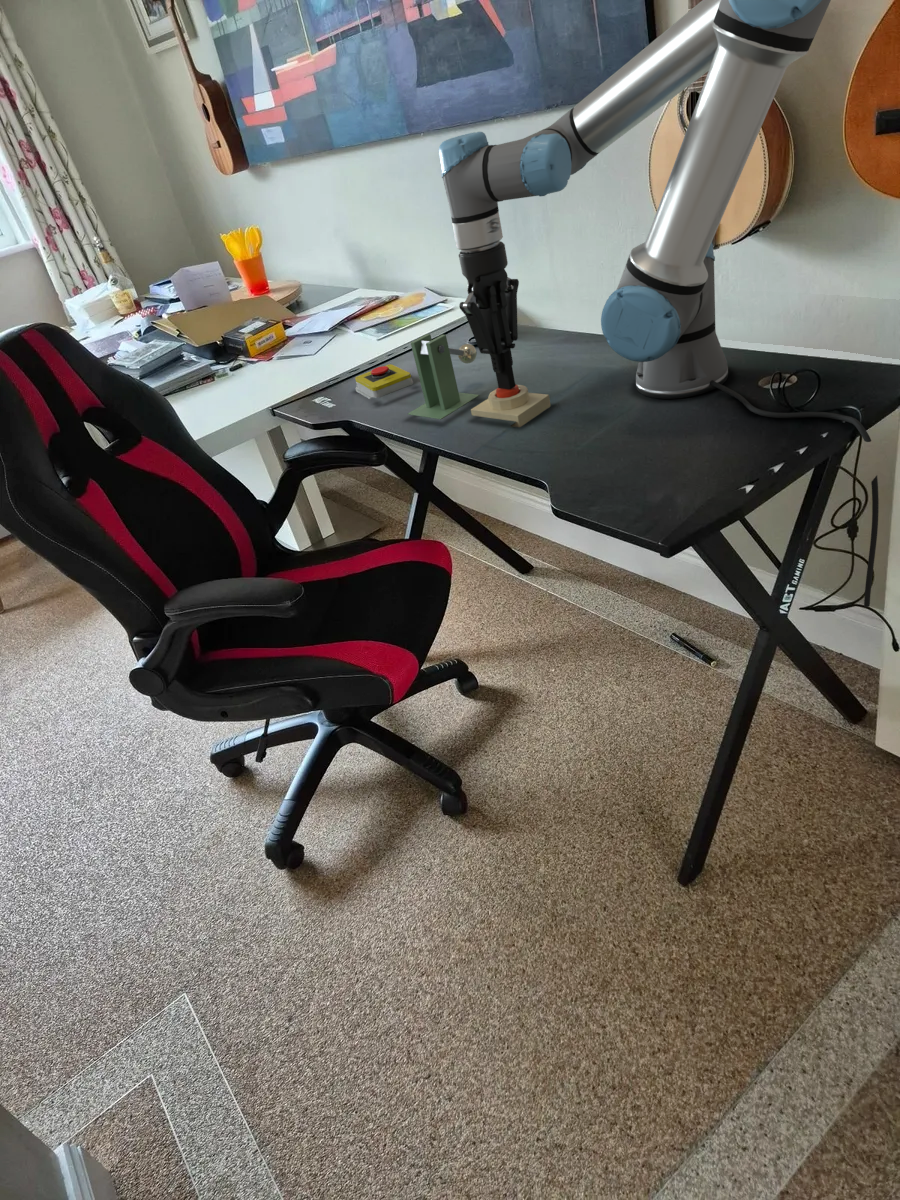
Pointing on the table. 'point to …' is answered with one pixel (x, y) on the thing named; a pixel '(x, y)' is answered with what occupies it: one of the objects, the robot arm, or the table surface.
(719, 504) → the table surface
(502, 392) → the button
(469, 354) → the lever switch
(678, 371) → the robot arm
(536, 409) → the button console
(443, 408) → the switch bracket
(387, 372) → the emergency button
